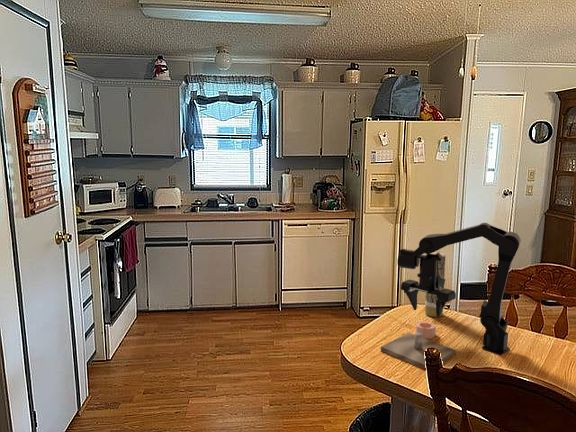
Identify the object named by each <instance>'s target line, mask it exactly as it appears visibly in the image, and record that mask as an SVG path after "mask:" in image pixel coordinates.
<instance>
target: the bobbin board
mask: <svg viewBox="0 0 576 432" xmlns="http://www.w3.org/2000/svg"><path fill="white" fill-rule="evenodd" d="M415 332H416V331H415ZM429 347H434V348H437V349H438V350H439V351H440V353H441V358H442V361H443V363H444V362H447V361H448V360H449V359H451V358H452V357H454V356H456V355H457V349H454V348H452V347H449V346H447V345H443V344H440V343H438V342H435V341H433V340H430V339H428V338H422V333H419V332H416V333H414V334H413V333H411V332H407V333H406V334H403V335H400V336H398V337H397V338H395V339H393V340H391V341H389V342H387V343H385V344H383V345H381V346H380V352H382V353H385V354H387V355H389V356H392V357H395V358H397V359H400V360H401V361H404V362H406V363H409V364H411V365H413V366H416V367H419V368H420V369H423V370H426V368H425V359H424V352H425V350H426V349H427V348H429ZM426 371H427V370H426Z"/></svg>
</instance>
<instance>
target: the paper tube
mask: <svg viewBox="0 0 576 432" xmlns="http://www.w3.org/2000/svg"><path fill="white" fill-rule="evenodd" d="M438 252H439V253H440V255H442V256H443V259H442V260H441V261H437V273H438V274H439V278H443V279H446V278H445V277H446V273H445V272H446V253H444V252H442V251H435V252H433V253H430V254H437V253H438ZM442 289H445V287H444V288H443V287H441V286H440V288H436V290H442ZM436 300H438V299H437V295H434V294H430V293H426V292H425V300H424V301H425V303H424V305H425V307H424V314H425V315H426V316H428V317H432V318H439V317H442V316H443V315H444V314H443V313H444V309H443V310H442V312H441V314H440V316H439V317H437V314H436Z"/></svg>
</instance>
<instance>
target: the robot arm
mask: <svg viewBox="0 0 576 432" xmlns="http://www.w3.org/2000/svg"><path fill="white" fill-rule="evenodd" d="M481 237H482V238H484V239H486V240H487V241H488V242H490V243H492V244H493V245H495V246H497V247H498V251H497V252H498V253H497V255H498V262H497V265H496V266H497V267H496V271H495V274H494V277H493V278H494V279H493V283H492V285H491V286H492V287H491V292H490V295H489V299H488V301H487V300H485V299H484V300H483V302H482V303H481V305H480V312H479V315H478V318H480V324H481V325H482V327H484V328H485V330H484V333H483V336H482V337H483V338H482V347H481V349H483V350H486V351H488V352H490V353H494V354H497V355H499V356H503V354H505V353H506V352H508V351H510V347H508V344H509V343H508V341H509V332H507V328H508V325H509V323H508V322H507V320H506V319H505V318H504V317H503V313H502V312H503V303H502V302H503V296H504V294H505V293H504V292H505V290H506V289H505V288H506V285H507V281H508V276H509V273H510V269H511V265H512V262H513V260H514V258H515V256H516V254H517V251H518V250H519V249H520V245H521V237H520V236H519V234H518V233H516V232H513V231H505V230H504V229H502V228H499V227H496V226H494V225H491V224H490V223H488V222H482V223H480V224H477V225H473V226H469V227H466V228H462V229H458V230H455V231H450V232H447V233H432V234H427V235H426V236H424V237H423V238H421V239H420V241H419V242H418V246H417V248H416V249H414V250H413V249H406V248H401V249H399V254H398V256H397V257H398V258H397V267H398V268H400V269H403V268H404V269H409V270H415V269H416V268H418V267H419V273H417V274H416V275H417V278H418V281H417V280H414V279H407V280H404V281H402V282H401V284H400V290H401V291H403V293H404V294H405V295H406V296H407V298H408V300H409V302H410V304H411V306H412V308H413V311H416V310H417V308H418V294H419V292H422V293H425V294H426V293H430V294H434V295H437V299H438V300H436V314H437V317H436V318H439V316H440V314H441V312H442V310H443V311H444V308H445V306H446V305H447V303H449V302H451V301H454V300H456V299H457V294H456V291H455V290H452V289H449V288H445V284H446V278H444V279H443V278H439V274H438V273H437V261H441V260H442V259H443V256H442V255H440V253H439V252H440V251H439V250H441V249H443V248H445V247H447V246H450V245H454V244H457V243H461V242H464V241H465V242H466V241H469V240H474V239H478V238H481ZM433 252H438V253H437V254H430V253H433ZM440 286H441V287H443V288H444V289H442V290H436V288H440ZM440 317H441V316H440Z"/></svg>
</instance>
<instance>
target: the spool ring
mask: <svg viewBox="0 0 576 432" xmlns="http://www.w3.org/2000/svg"><path fill="white" fill-rule="evenodd" d="M436 327H437V326H436V325H435V324H434V323H433V322H429V321H418V322H416V323H415V333H416V332H419V333H422V338H425V339H433V338H435V337H436ZM415 333H414V334H415Z"/></svg>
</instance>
